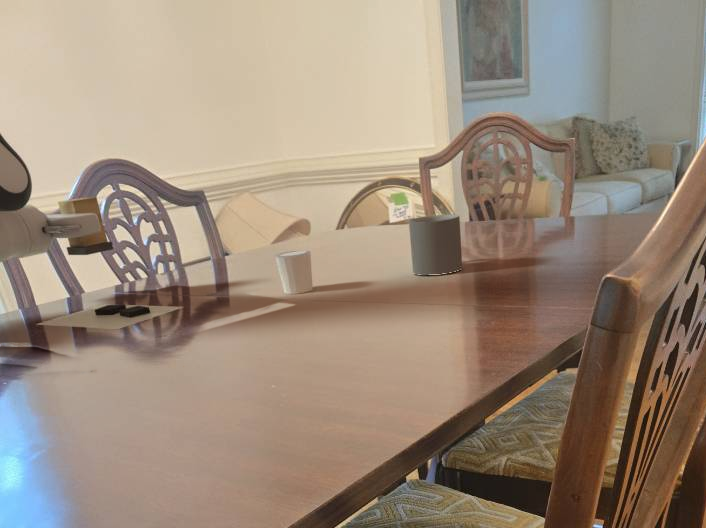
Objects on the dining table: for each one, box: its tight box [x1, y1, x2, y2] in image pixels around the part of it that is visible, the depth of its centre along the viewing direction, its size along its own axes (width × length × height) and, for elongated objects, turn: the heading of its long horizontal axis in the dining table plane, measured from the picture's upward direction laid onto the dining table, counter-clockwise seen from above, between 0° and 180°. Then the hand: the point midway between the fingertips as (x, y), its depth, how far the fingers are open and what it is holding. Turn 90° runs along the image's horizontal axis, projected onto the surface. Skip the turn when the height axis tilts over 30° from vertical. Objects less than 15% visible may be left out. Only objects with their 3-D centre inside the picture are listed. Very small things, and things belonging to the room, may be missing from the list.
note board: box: [35, 303, 184, 330], centre depth 142 cm, size 22×16×1 cm
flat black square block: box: [119, 305, 150, 318], centre depth 140 cm, size 4×4×1 cm
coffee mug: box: [408, 213, 463, 275], centre depth 154 cm, size 13×10×10 cm
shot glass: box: [274, 250, 314, 295], centre depth 149 cm, size 7×7×7 cm
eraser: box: [57, 196, 114, 256], centre depth 156 cm, size 6×7×10 cm
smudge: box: [95, 304, 126, 315], centre depth 144 cm, size 4×4×1 cm
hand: (86, 220), depth 156 cm, fingers closed on eraser, 4 cm apart
